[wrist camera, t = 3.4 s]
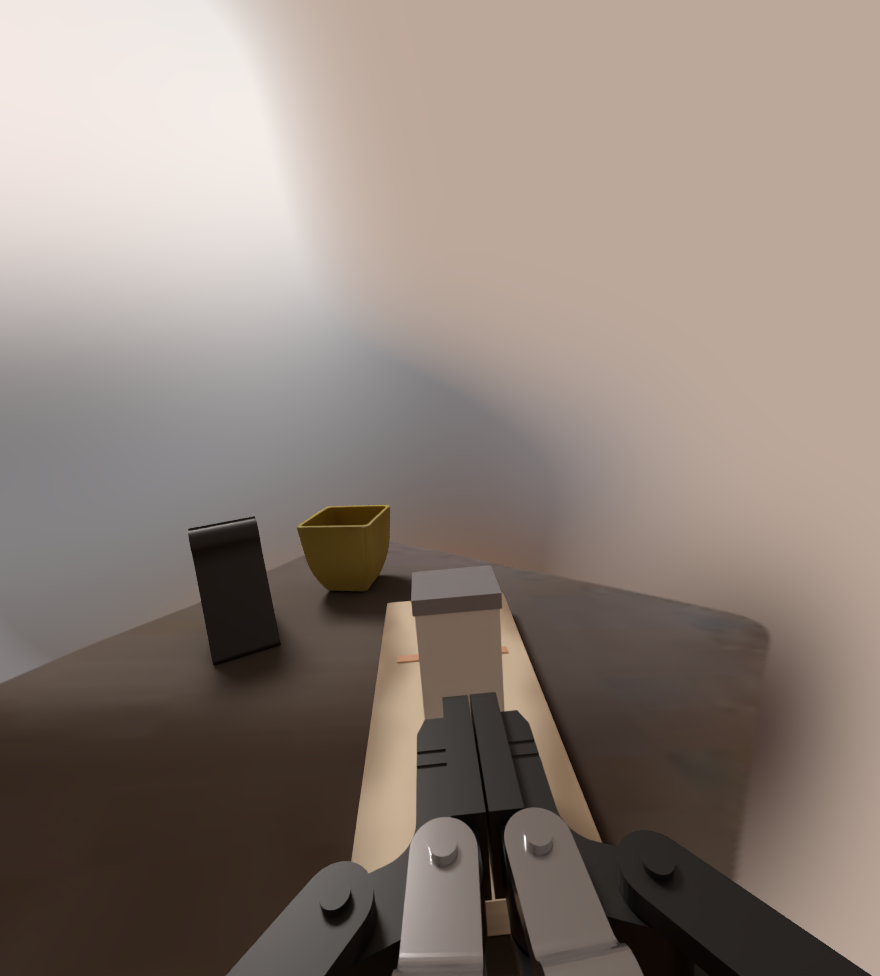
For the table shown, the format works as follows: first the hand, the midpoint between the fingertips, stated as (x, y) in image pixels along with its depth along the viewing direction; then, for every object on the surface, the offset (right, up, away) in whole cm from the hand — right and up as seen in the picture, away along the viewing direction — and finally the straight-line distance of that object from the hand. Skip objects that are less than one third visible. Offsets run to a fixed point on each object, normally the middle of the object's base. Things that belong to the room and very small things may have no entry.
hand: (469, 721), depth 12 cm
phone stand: (-21, -9, +34) cm, 41 cm away
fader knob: (+1, -10, +13) cm, 16 cm away
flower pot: (-11, -6, +44) cm, 46 cm away
